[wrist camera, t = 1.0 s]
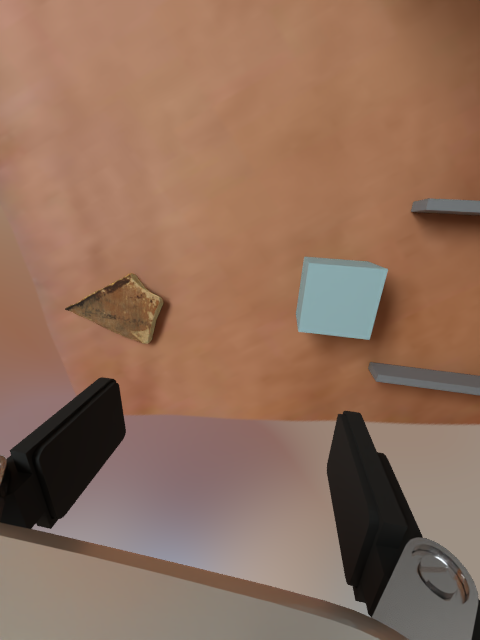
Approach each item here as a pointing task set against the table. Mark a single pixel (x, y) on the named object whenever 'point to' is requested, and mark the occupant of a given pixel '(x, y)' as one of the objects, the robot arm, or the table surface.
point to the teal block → (339, 297)
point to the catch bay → (425, 376)
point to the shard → (122, 308)
